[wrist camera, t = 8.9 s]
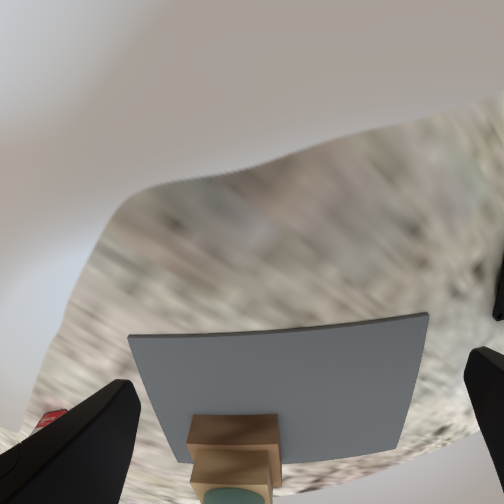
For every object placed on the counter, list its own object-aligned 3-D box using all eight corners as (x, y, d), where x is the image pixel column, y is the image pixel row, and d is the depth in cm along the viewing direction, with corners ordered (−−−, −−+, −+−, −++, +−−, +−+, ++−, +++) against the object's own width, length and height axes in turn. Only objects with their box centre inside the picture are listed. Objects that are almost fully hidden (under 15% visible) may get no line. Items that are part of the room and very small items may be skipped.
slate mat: (427, 312, 21) (429, 315, 20) (394, 445, 26) (395, 448, 26) (128, 335, 23) (127, 337, 22) (178, 459, 28) (177, 462, 27)
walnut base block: (277, 413, 24) (277, 444, 21) (281, 459, 26) (281, 486, 23) (193, 414, 24) (185, 443, 21) (209, 459, 27) (204, 485, 24)
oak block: (268, 450, 21) (267, 484, 18) (272, 482, 23) (272, 513, 20) (197, 449, 22) (189, 482, 18) (210, 482, 23) (205, 511, 20)
